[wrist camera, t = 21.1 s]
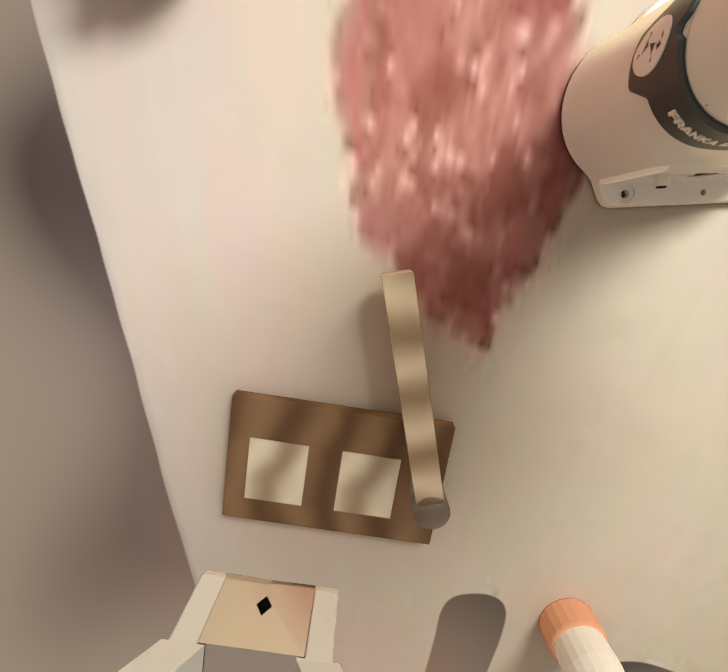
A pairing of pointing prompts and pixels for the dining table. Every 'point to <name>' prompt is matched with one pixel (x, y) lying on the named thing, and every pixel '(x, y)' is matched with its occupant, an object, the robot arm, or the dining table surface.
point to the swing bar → (415, 399)
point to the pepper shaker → (577, 638)
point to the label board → (323, 466)
